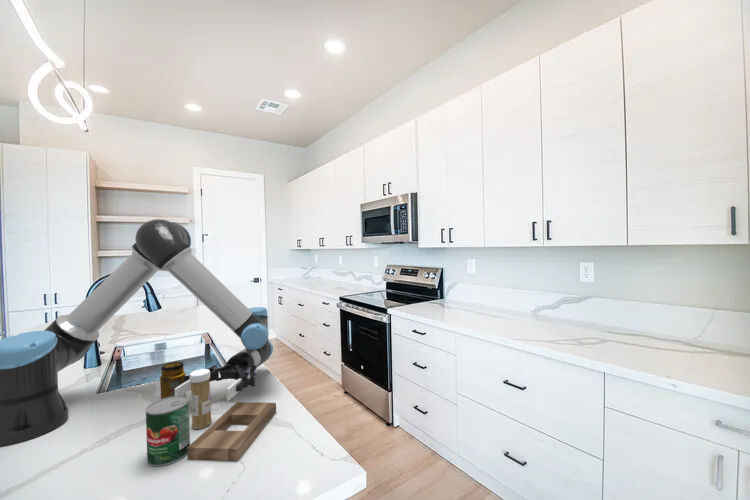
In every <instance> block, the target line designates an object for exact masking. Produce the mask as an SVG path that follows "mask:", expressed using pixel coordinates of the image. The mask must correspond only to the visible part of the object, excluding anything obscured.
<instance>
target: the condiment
mask: <svg viewBox="0 0 750 500" xmlns="http://www.w3.org/2000/svg"><path fill="white" fill-rule="evenodd" d="M185 376H186V371H184V362H182V361H173V362H171V361H170V362H168V363H165V364H163V365H162V367H161V376H160V378H159V382H160V383H159V384H160V386H159V387H160V388H159V389H160V399H163V398H167V397H172V396H175V388H176V387H178V386H180V385H181V384H182V383H184V377H185ZM183 396H186V397H187V393H186V394H185V395H183ZM189 401H191V398H189Z"/></svg>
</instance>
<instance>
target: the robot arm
mask: <svg viewBox="0 0 750 500" xmlns="http://www.w3.org/2000/svg"><path fill="white" fill-rule="evenodd" d="M191 244H192V238H191V234H190V232H189V231H188V230H187V229H186V227H184V226H182V225H181V224H180V223H177V222H175V221H169V220H166V219H160V218H155V219H151V220H148V221H146V222H145V223H143V224H141V225H140V226H139V228H138V229H137V231H136V232H135V243H134V244H133V245H131V254H130V256H128V257H127V258H126V259H125V260H124V261H123V262H122V263H121V264H120V265H119V266H118V267H117V268H115V270H114V271H113V272H112V273H110V274H109V276H107V278H105V280H103V281H102V283H100V284H99V285H98V286H97V287H96V288H95V289H94V290H93V291H92V292H91V293H90V294H88V296H86V298H85V299H84V300H83V301H82V302H80V303H79V304H78V305H77V307H75V308H74V309H73V311H71V312H70V313H69V314H63V315H62V314H61V315H59V316H58V317H56V319H55V320H53V321H52V322H51V324H49V325H48V326H47V327H46V328H45V329H43V330H35V331H26V332H22V333H18V334H16V335H10V336H7V337H5V338H2V339H0V447H3V446H9V445H14V444H18V443H21V442H24V441H28V440H31V439H34V438H37V437H40V436H41V435H46V433H49V432H51V431H53V430H56V429H57V428H59V427H60V426H62V425H63V424H65V423H66V422H67V421H68V420H69V408H68V406H67V404H66V402H65V400H64V399H63V397H62V395H61V393H60V392H59V379H58V378H59V377H58V376H59V375H58V373H59V372H60V371H62V370H63V369H65V368H67V367H69V366H71V365H72V364H74V363H76V362H78V361H80V360H81V359H82V358H83V357H85V356H86V355H87V353H88V352H89V351H90V350H91V348H92V345H94V343H95V342H96V341H97V340H98V339H99V337H100V332H99V330H100V329H101V328H102V327H103V326H104V325H106V324H107V322H108V321H109V320H111V318H112V317H114V315H115V314H116V313H117V312H119V310H120V309H121V308H123V307H124V305H125V304H126V303H128V301H129V300H131V298H132V297H134V295H136V293H137V292H138V291H140V290H141V288H143V286H145V284H146V283H148V281H149V280H150V279H151V278H153V276H154V275H156V273H158V272H159V271H160V272H161V271H162V272H168V273H170V274H171V276H173V277H174V278H175V279H176V280H177V281H178V282H179V283H181V285H182V286H184V288H186V289H187V290H188V291H189V292H190V293H191V294H192V295H193V296H194V297H196V299H198V300H199V301H200V302H201V303H202V305H204V306H205V307H206V308H207V309H208V310H209V311H211V312H212V314H214V315H215V316H216V317H217V318H218V319H219V320H220V321H221V322H222V323H224V324H225V325H226V327H228V328H229V329H230V330H231V331H232V332H233V333H234V334H235V335H236V336H237V337H238V338H240V342H241V344H242V345H243V346H244V349H242V350H240V351H239V352H237V353H236V354H234V355H233V356H231V357H230V358H228V360H227V362H226V364H224V366H220V367H218V365H216V364H215V365H211V366H210V367H208V368H206V369H208V370H210V382H214V381H216V382H219V381H222V380H235V381H234V382H233V383H232V384H231V385H229V386H228V387H227V388H226V389H225V399H226V400H225V401H230V400H231V399H232V398H233V397H235V396H236V395H237V394H238V393H240V392H242V391H243V390H244V389H247V388H248V387H249V386H250V387H251V388H255V387H256V376H257V375H258V371H257V370H258V367H260V366H261V365H263V363H264V364H265V362H267V361H268V360H269V359H270V357H271V356H272V355H273V352H274V346H273V344H272V342H271V341H270V340H269V335H270V333H269V321H268V320H269V317H268V316H269V315H268V309H267V308H266V307H262V306H257V307H256V306H255V307H250V308H248V307H247V306H246V305H245V304H244V303H243V302H242V301H241V300H240V299H239V298H238V297H236V295H235V294H234V293H233V292H231V290H230V289H229V288H228V287H227V286H225V284H223V282H222V281H220V280H219V279H218V278H217V276H215V275H214V274H213V273H212V272H211V271H210V270H209V269H208V268H207V267H206V266H205V265H204V264H203V263H201V261H200V260H198V259H197V257H195V256H194V255H193V254H192V248H191ZM248 376H249V378H248ZM189 392H191V383H190V374H187V375H185V377H184V383H182V384H181V385H180V386H178V387H176V388H175V396H183V395H185V394H186V395H187V394H188V393H189Z"/></svg>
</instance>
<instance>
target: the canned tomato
mask: <svg viewBox="0 0 750 500" xmlns="http://www.w3.org/2000/svg"><path fill="white" fill-rule="evenodd" d="M189 399H190V398H189V397H187V395H186V396H172V397H167V398H163V399H161V398H160V399H158V400H156V401H154V402H151V403H150V404H149V405H148V406H147V407H146V408H145V426H146V427H145V428H146V430H145V431H146V434H145V435H146V457H147V458H146V462H147V465H149V466H151V467H152V468H153V467H155V468H156V467H164V466H169V465H173V464H174V463H176V462H178V461H180V460H182V459H183V458H184V457H186V456H188V452H187V447H188V446H190V445H191V436H190V404H189V403H190V400H189Z"/></svg>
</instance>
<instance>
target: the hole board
mask: <svg viewBox="0 0 750 500" xmlns="http://www.w3.org/2000/svg"><path fill="white" fill-rule="evenodd" d="M276 413H277V402H262V401H261V402H259V401H258V402H257V401H255V402H254V401H253V402H252V401H236V402H235V403H234V404H233V405H232V406H230V407H229V409H227V411H225V412H224V413H223V414H222V415H221V416H220V417H219V418H218V419H216V421H214V422H213V423H211V424H210V425H209V427H208V428H207V429H206V430H204V431H203V433H201V434H200V435H199V436H198V437H196V439H195V440H193V442H192V443H190V446H188V447H187V452H188V454H187V460H197V461H198V460H199V461H220V462H221V461H223V462H224V461H225V462H226V461H227V462H239V460H240V459H241V458H242V456H243V455H244V454H245V452H246V451H247V450H248V449H249V447H250V446H251V445H252V444H253V442H255V440H256V439H257V437H258V436H259V435H260V434H261V432H262V431H263V429H264V428H265V427H266V426H267V425H268V423H269V422H270V421H271V420H272V418H273V416H274V415H275V414H276ZM232 425H236V426H237V425H243V426H247V427H246V428H245V429H244V430H227V429H228V428H229V427H230V426H232Z"/></svg>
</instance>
